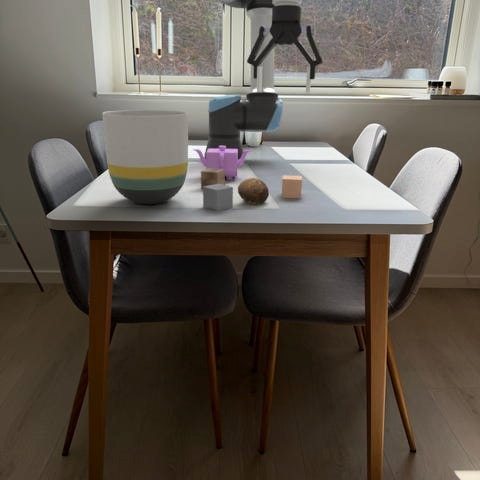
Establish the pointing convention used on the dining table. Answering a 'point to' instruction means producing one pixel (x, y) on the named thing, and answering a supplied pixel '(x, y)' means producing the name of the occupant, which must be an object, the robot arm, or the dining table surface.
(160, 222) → the dining table surface
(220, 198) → the slate cube
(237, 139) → the robot arm
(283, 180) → the terracotta cube
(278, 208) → the dining table surface
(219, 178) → the walnut cube
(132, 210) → the dining table surface
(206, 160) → the teapot
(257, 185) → the mushroom
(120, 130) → the planter
